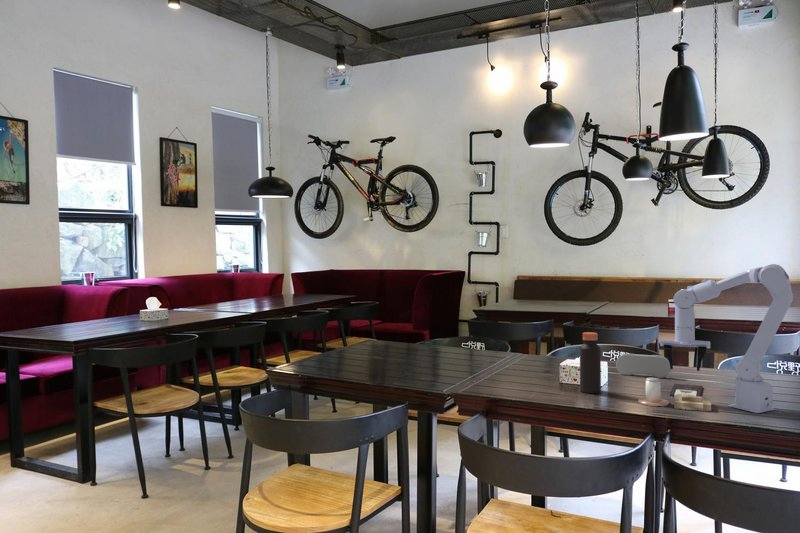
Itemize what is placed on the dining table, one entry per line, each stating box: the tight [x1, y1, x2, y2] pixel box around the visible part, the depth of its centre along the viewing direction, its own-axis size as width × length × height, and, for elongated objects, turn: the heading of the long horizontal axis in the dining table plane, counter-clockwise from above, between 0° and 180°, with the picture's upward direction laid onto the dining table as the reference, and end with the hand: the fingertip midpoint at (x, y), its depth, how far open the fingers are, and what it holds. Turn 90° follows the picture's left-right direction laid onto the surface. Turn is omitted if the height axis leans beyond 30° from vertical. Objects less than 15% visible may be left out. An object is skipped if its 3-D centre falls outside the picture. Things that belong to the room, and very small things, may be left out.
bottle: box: [579, 331, 602, 394], centre depth 211 cm, size 7×7×20 cm
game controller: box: [615, 352, 672, 379], centre depth 235 cm, size 20×2×8 cm, turn 63°
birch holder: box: [673, 395, 712, 412], centre depth 191 cm, size 10×10×2 cm
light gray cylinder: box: [645, 377, 662, 403], centre depth 195 cm, size 4×4×7 cm
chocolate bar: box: [669, 383, 703, 398], centre depth 209 cm, size 9×1×18 cm
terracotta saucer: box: [637, 397, 670, 407], centre depth 195 cm, size 9×9×1 cm
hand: (684, 369), depth 198 cm, fingers open, 7 cm apart
